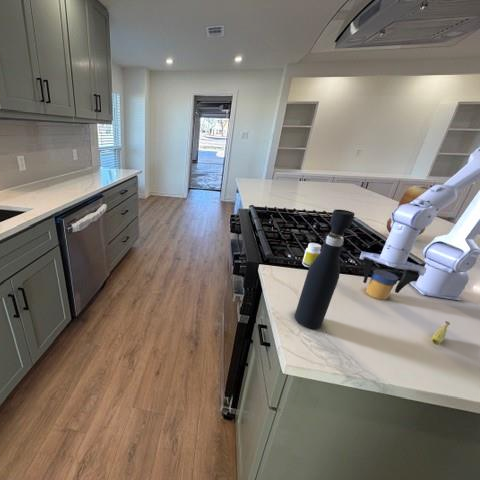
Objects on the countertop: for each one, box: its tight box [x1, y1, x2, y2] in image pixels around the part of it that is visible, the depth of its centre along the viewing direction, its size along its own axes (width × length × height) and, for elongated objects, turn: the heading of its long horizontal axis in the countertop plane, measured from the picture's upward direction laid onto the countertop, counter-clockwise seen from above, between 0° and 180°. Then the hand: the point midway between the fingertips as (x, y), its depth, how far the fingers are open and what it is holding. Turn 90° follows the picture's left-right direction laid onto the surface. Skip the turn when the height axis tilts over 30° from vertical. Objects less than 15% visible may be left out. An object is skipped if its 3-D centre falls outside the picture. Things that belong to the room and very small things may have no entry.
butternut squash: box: [386, 185, 431, 237], centre depth 118 cm, size 14×13×25 cm
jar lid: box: [370, 269, 399, 286], centre depth 76 cm, size 6×6×2 cm
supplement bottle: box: [301, 242, 322, 269], centre depth 93 cm, size 5×5×8 cm
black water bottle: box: [293, 208, 356, 330], centre depth 61 cm, size 6×6×30 cm
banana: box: [430, 320, 451, 345], centre depth 61 cm, size 8×2×4 cm, turn 124°
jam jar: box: [365, 277, 395, 301], centre depth 77 cm, size 5×5×6 cm
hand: (380, 286), depth 78 cm, fingers open, 7 cm apart
